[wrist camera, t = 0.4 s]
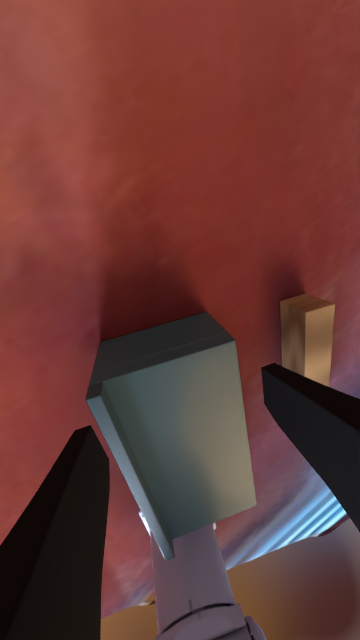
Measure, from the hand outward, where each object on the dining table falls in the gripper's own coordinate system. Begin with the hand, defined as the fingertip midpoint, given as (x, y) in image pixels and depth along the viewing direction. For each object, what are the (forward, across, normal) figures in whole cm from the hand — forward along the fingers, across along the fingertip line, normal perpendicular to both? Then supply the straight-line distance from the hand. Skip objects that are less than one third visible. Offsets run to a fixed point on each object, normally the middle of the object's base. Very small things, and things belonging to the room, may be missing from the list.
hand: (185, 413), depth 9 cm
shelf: (+10, 0, +9) cm, 13 cm away
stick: (+10, -12, +9) cm, 18 cm away
